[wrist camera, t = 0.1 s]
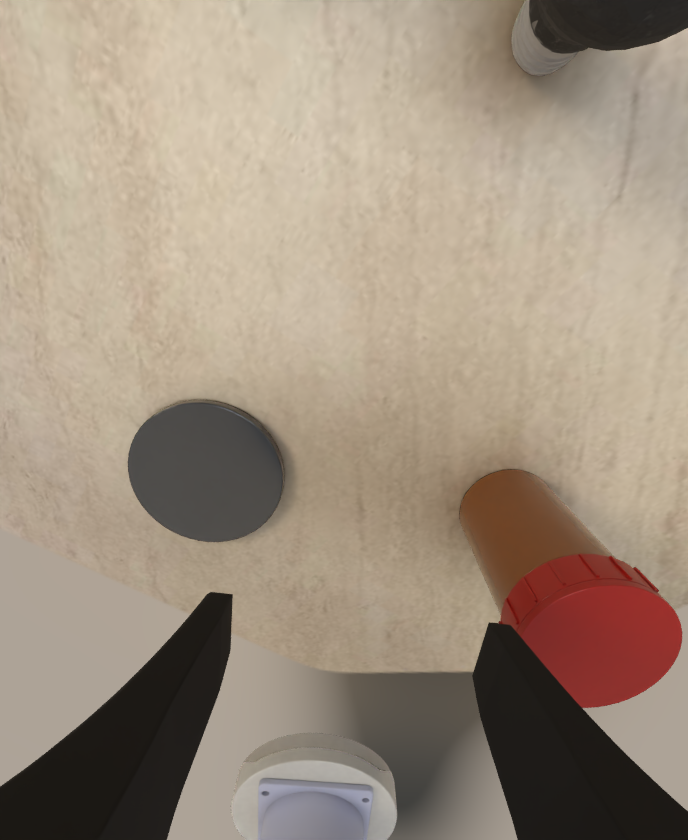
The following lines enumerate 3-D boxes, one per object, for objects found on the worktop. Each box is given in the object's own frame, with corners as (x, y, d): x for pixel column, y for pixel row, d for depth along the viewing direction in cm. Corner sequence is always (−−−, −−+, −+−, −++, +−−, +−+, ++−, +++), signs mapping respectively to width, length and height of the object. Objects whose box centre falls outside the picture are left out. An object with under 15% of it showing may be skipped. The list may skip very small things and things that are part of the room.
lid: (624, 673, 16) (652, 714, 15) (486, 663, 16) (500, 703, 15) (671, 558, 14) (709, 590, 13) (516, 546, 14) (535, 578, 13)
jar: (540, 552, 23) (640, 697, 15) (452, 546, 23) (505, 688, 15) (563, 472, 21) (687, 588, 13) (467, 465, 21) (536, 577, 13)
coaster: (282, 541, 23) (280, 547, 22) (140, 530, 23) (134, 537, 22) (286, 405, 20) (285, 409, 20) (125, 393, 20) (119, 396, 20)
